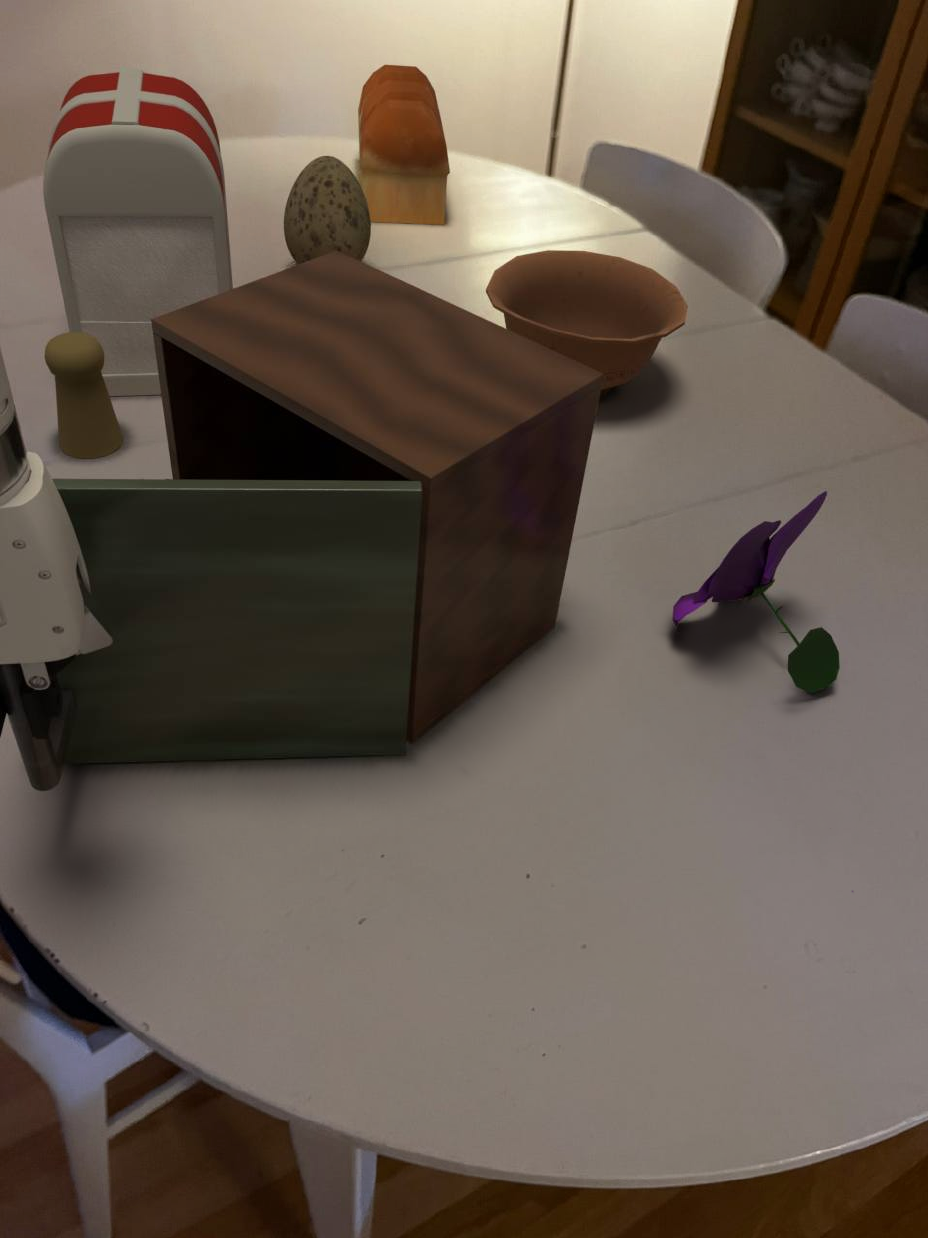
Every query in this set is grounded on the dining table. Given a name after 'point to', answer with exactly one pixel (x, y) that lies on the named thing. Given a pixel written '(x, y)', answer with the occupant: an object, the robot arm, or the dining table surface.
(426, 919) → the dining table surface
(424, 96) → the bread
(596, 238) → the dining table surface
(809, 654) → the flower
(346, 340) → the cupboard
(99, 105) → the white box red top
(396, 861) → the dining table surface
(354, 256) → the decorative egg
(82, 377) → the brown rounded tall piece
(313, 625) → the cupboard door
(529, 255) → the bowl
